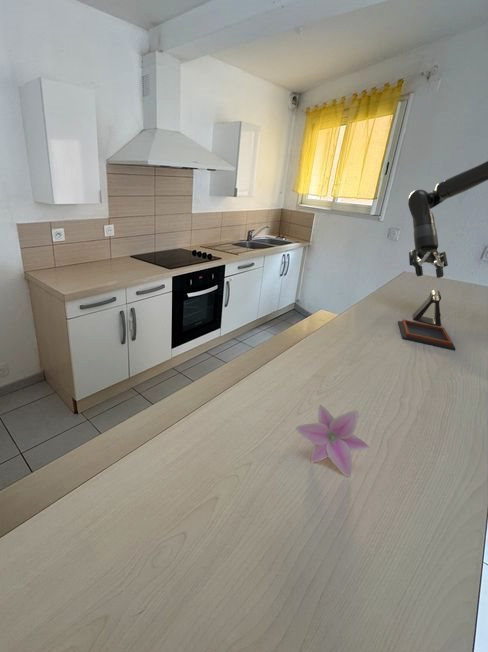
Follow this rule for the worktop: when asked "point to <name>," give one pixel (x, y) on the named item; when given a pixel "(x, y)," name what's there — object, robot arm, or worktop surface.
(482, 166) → the robot arm
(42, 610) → the worktop surface
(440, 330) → the rimmed tray
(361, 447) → the lily
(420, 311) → the phone stand
